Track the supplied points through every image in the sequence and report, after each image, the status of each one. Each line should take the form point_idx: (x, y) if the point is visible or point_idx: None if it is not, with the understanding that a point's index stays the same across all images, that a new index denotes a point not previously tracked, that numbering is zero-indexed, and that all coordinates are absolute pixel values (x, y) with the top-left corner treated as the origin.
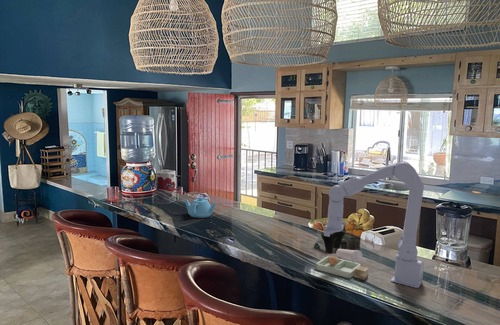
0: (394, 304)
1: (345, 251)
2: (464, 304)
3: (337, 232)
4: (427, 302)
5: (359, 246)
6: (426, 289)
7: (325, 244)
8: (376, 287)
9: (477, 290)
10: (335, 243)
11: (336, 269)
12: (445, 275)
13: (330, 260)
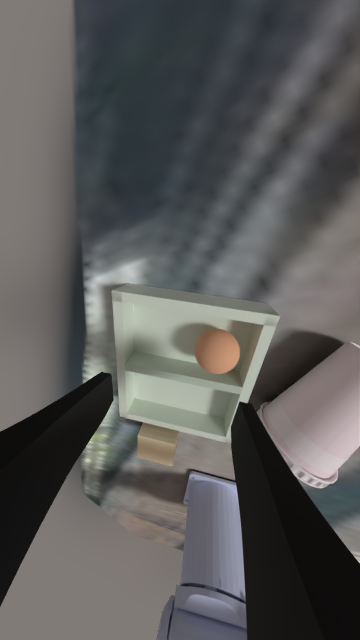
0: (83, 459)
1: (332, 416)
2: (162, 528)
3: None
4: (131, 496)
5: None
6: None
7: (35, 421)
8: (134, 443)
9: None
10: (244, 448)
11: (118, 378)
12: None
13: (196, 345)
